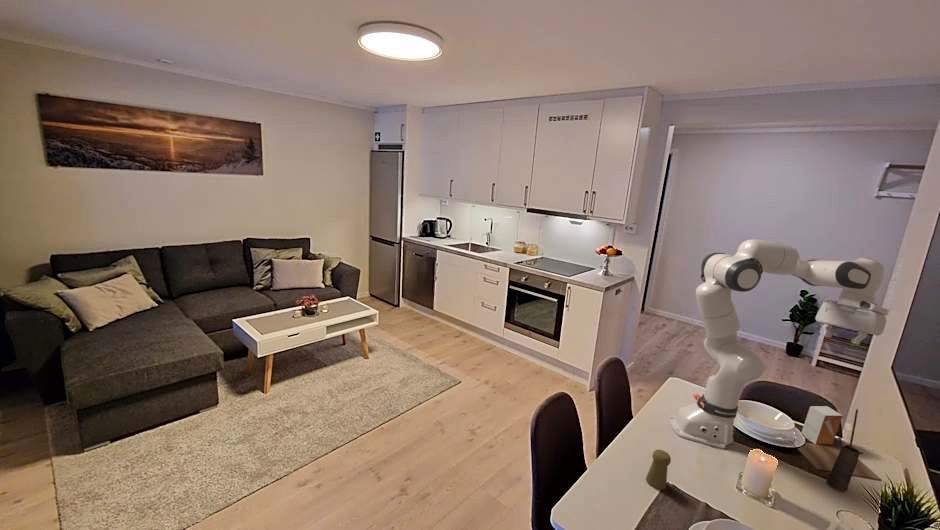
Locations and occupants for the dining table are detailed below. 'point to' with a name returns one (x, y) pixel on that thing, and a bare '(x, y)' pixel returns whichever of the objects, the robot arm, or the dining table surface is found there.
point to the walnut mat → (832, 460)
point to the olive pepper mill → (658, 470)
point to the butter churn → (844, 465)
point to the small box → (821, 424)
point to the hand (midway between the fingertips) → (840, 340)
